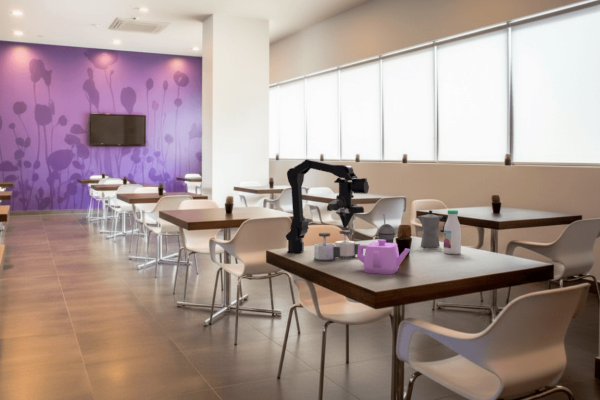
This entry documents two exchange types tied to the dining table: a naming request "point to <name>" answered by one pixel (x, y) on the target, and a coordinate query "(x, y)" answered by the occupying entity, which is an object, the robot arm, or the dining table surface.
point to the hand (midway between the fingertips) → (345, 227)
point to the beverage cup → (386, 232)
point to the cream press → (347, 249)
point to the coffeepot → (430, 229)
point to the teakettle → (381, 257)
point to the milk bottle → (452, 234)
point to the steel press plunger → (324, 237)
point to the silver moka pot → (326, 252)
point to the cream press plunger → (345, 234)
